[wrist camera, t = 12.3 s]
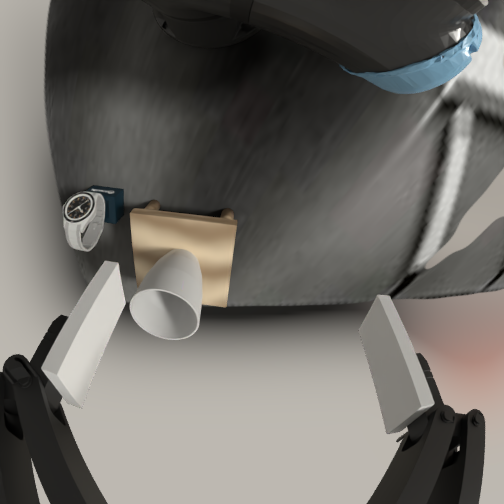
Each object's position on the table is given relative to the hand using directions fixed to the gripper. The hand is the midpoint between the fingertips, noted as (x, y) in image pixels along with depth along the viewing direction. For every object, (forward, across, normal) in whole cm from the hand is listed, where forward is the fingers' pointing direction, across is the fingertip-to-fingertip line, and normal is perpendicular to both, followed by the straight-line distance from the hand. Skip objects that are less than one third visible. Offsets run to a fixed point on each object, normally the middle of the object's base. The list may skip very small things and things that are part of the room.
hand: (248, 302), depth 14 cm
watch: (+27, -22, -8) cm, 35 cm away
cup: (+21, -8, -14) cm, 26 cm away
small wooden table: (+27, -8, -14) cm, 31 cm away
